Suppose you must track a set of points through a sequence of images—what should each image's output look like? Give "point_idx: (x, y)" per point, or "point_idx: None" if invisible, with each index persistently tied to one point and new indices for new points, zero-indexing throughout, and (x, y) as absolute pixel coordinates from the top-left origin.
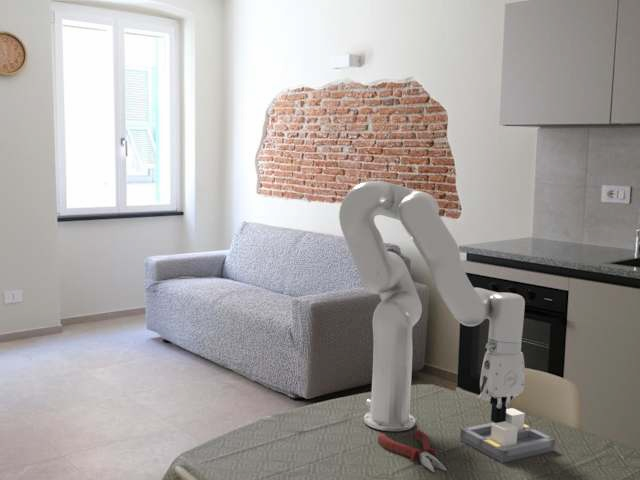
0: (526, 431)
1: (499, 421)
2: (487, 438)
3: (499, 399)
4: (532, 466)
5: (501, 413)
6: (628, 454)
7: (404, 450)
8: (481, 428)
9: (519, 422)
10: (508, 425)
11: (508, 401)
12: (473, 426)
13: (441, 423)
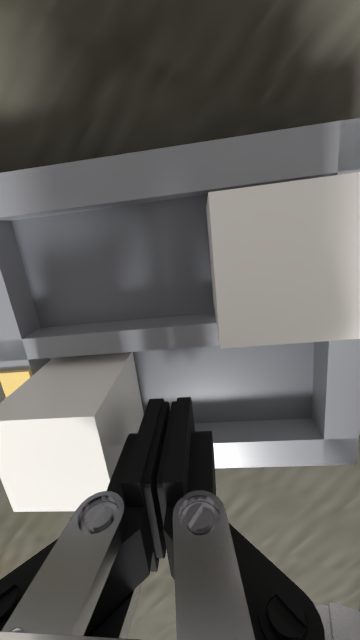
0: (44, 335)
1: (190, 412)
2: None
3: (209, 607)
4: (219, 34)
5: (182, 447)
6: None
7: None
8: (244, 439)
9: (51, 387)
10: (259, 260)
11: (72, 549)
12: (272, 465)
13: (281, 553)
